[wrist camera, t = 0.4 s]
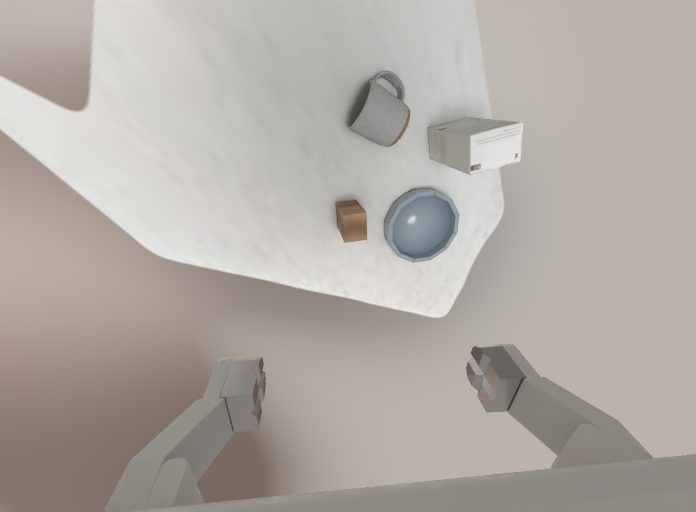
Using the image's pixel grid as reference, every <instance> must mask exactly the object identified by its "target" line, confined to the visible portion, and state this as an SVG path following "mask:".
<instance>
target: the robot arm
mask: <svg viewBox="0 0 696 512" xmlns="http://www.w3.org/2000/svg"><path fill="white" fill-rule="evenodd" d="M471 354H472V356H473V357H472V358H471V359H470V360H469V361H468V363H467V367H466V369H467V376H468V379H469V381H470V383H471V385H472V386H473V387H474V388H476V389H477V390H478V398H479V399H480V402H481V403H482V405H483V407H484V409H485V410H486V412H503V411H508V413H509V414H510V415H512V416H513V417H514V418H515V419H516V420H517V421H518V422H520V423H521V424H522V425H523V426H524V427H525V428H526V429H528V430H529V431H530V432H531V433H532V434H534V435H535V436H536V437H537V438H538V439H539V440H541V442H543V443H544V444H545V445H546V446H547V447H548V448H550V449H551V450H552V451H553V452H554V453H555V454H556V455H558V456H557V458H556V459H555V461H554V462H553V464H552V466H551V469H545V470H535V471H525V472H514V473H504V474H494V475H484V476H474V477H464V478H454V479H444V480H434V481H425V482H414V483H404V484H395V485H385V486H375V487H365V488H355V489H345V490H335V491H325V492H315V493H305V494H296V495H285V496H276V497H266V498H256V499H246V500H236V501H227V502H216V503H206V504H204V502H203V499H202V497H201V494H200V492H199V489H198V487H197V484H196V482H197V481H198V480H199V479H200V477H201V476H202V475H203V473H204V472H205V471H206V469H207V468H208V467H209V465H210V464H211V463H212V461H213V460H214V459H215V458H216V456H217V455H218V454H219V452H220V451H221V450H222V448H223V447H224V446H225V444H226V443H227V442H228V440H229V439H230V438H231V436H232V435H233V432H241V431H250V430H258V429H259V425H260V419H261V413H262V409H261V402H262V401H263V400H264V396H265V386H266V382H265V381H266V378H265V372H263V371H262V370H263V365H264V363H263V358H262V357H244V358H220V359H218V361H217V362H216V364H215V367H214V370H213V373H212V375H211V378H210V381H209V383H208V386H207V388H206V391H205V393H204V396H203V399H198V400H197V401H196V402H195V403H193V404H192V405H191V406H190V407H189V408H188V409H187V410H186V411H184V412H183V413H182V414H181V415H180V416H179V417H178V418H177V419H176V420H175V421H173V422H172V423H171V424H170V425H169V426H168V427H167V428H166V429H165V430H163V431H162V433H160V434H159V435H158V436H157V437H156V438H155V439H154V440H152V442H150V443H149V444H148V445H147V446H146V447H145V448H144V449H142V450H141V451H140V452H139V453H138V454H137V455H136V456H135V457H134V458H133V459H132V460H130V462H129V464H128V466H127V468H126V470H125V472H124V473H123V475H122V477H121V479H120V481H119V483H118V485H117V487H116V489H115V491H114V493H113V495H112V497H111V499H110V501H109V503H108V504H107V506H106V508H105V510H104V512H696V454H693V455H682V456H673V457H663V458H653V457H652V456H651V455H650V454H649V453H648V452H647V451H646V450H645V448H643V446H642V445H641V444H640V443H639V442H638V441H637V440H636V439H635V438H634V437H633V436H632V435H631V434H630V433H629V432H628V431H627V430H626V429H625V427H624V426H623V425H622V424H621V423H620V422H619V421H618V420H616V419H615V418H613V417H611V416H609V415H608V414H606V413H604V412H603V411H601V410H599V409H598V408H596V407H594V406H592V405H591V404H589V403H587V402H586V401H584V400H582V399H581V398H579V397H577V396H576V395H574V394H572V393H571V392H569V391H567V390H565V389H564V388H562V387H560V386H559V385H557V384H555V383H554V382H552V381H550V380H549V379H547V378H545V377H540V376H539V374H538V373H537V372H536V371H535V370H534V368H533V367H532V366H531V365H530V364H529V362H528V361H527V360H526V359H525V358H524V356H523V355H522V354H521V353H520V351H519V350H518V349H517V348H516V347H515V346H514V345H513V344H501V345H482V346H474V347H473V348H472V351H471Z"/></svg>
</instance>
